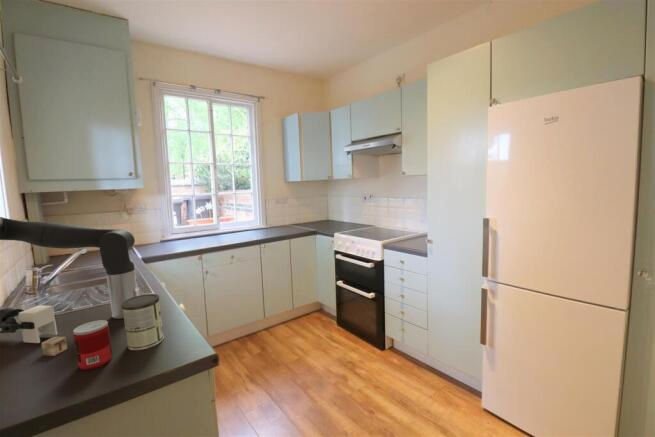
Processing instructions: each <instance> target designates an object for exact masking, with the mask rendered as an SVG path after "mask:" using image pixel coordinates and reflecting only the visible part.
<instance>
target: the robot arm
mask: <svg viewBox="0 0 655 437" xmlns="http://www.w3.org/2000/svg"><path fill="white" fill-rule="evenodd" d="M0 241H18V242H24V243H28V244H30V245H33V246H38V247H41V248H42V247H43V248H51V249H60V250H61V249H66V250H67V249H81V248H98V249H99V254H100V259H101V263H102V264H101V265H102V267H103V268H104V270H105V273H106V280H107V281H106V282H107V288H108V295H109V296H108V297H109V302H110V309H111V317H112V318H113V319H118V320H119V319H124V317H123V310H122V306H121V304H122V302H124V301H125V300H127V299H130V298H132V297H136V296H140V293H139V292H140V291H139V286H138V285H137V277H136V270H135V269H136V268H135V263H134V262H133V261H132V260H131V258H130V255H129V254H130V252H129V251H130V249H131V248H133V247H134V245H135V242H136V241H135V237H134V235H133V234H132V233H131V232H130V231H128V230H126V229H121V228H120V229H117V228H116V229H111V228H110V229H108V228H107V229H106V228H105V229H104V228H93V227H87V226H81V225H73V224H67V223H59V222H48V221H47V222H46V221H23V220H19V219H18V220H17V219H13V218H5V217H2V216H0ZM22 311H25V310H24V309H23V308H19V307H0V334H13V333H16V332H17V331H22V330H23V329H34V328H35V327H34V323H33V322H23V321H20V319H19V313H20V312H22ZM54 315H55V320H56V314H55V313H54Z"/></svg>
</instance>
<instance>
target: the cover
mask: <svg viewBox="0 0 655 437" xmlns="http://www.w3.org/2000/svg"><path fill="white" fill-rule="evenodd" d="M54 314H55V309H54V306H53V305H36V306H34V307H30V308H28V309H25V310H24V311H22V312H20V313H19V319H20V321H23V322H33V323H34V327H35V328H34V329H23V330H21V335H22V340H23V343H29V344H31V343H32V344H40V343H41V339H40V336H42V335H56V336H57V335H58V328H57V323H56V319H55V316H56V314H55V315H54Z"/></svg>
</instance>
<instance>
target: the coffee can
mask: <svg viewBox="0 0 655 437" xmlns="http://www.w3.org/2000/svg"><path fill="white" fill-rule="evenodd" d="M160 305H161V304H160V295H158V294H155V293H148V294H147V293H146V294H139V296H136V297H132V298H130V299H127V300H125V301H124V302H122V304H121V306H122V310H123V317H124V318H123V323H124V330H125V337H126V343H127V349H128V350H130V351H141V350H147V349H150V348H152V347H155V346H157V345H159V344H160V343H161V342H163V340H164V338H165V336H164V329H163V321H162V313H161V306H160Z"/></svg>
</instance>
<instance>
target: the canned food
mask: <svg viewBox="0 0 655 437" xmlns="http://www.w3.org/2000/svg"><path fill="white" fill-rule="evenodd" d="M108 322H109V321H107V320H104V319H100V320H99V319H97V320H92V321H89V322H86V323H83V324H81V325H78V326H77V327H75V328H74V329H73V330H72V334H73V335H72V336H73V342H74V348H75V354H76V359H77V360H76V361H77V365H78V368H79V369H80V370H82V371H88V370H89V371H90V370H95V369H97V368H100V367H102V366H104V365H106V364H107V363H109V362H110V361H111V360H112V358H113V349H112V348H113V347H112V342H111V341H112V340H111V334H110V328H109V323H108Z"/></svg>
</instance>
